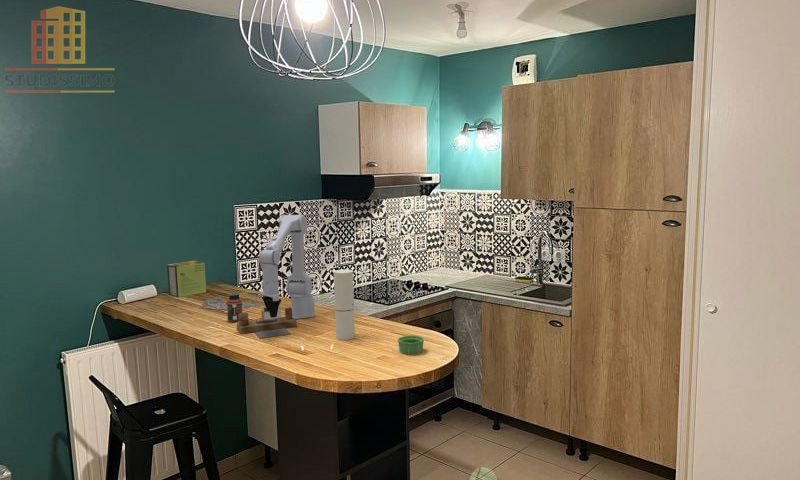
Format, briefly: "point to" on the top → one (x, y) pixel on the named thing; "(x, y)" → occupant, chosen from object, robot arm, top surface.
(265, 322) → the body
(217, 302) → the worn metal disc
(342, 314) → the cylindrical container
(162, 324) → the top surface
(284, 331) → the rubber mat
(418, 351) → the ramekin
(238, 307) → the supplement bottle
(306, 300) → the robot arm
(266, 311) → the light switch plate
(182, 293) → the protein box
